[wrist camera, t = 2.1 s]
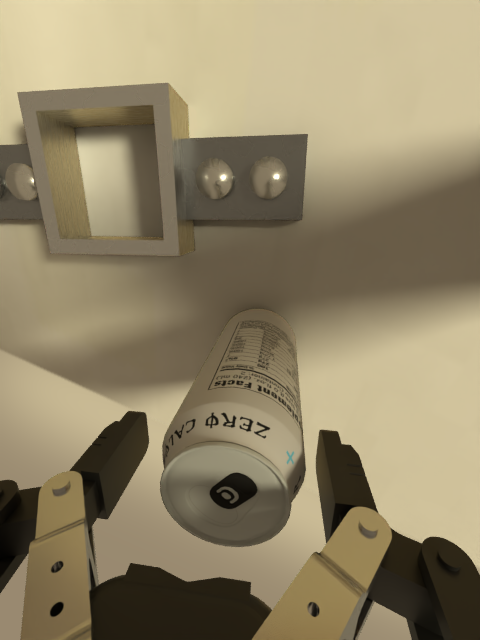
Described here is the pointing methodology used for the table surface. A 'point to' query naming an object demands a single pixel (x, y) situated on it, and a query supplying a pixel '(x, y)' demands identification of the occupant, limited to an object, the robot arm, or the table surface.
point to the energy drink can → (238, 436)
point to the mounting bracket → (173, 166)
